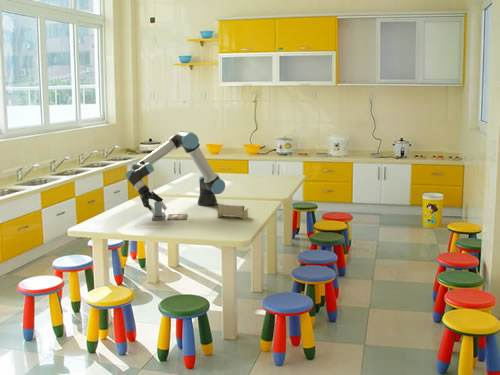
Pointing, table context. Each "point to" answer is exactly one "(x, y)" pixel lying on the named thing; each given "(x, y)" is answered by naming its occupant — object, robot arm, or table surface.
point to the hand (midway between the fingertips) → (160, 211)
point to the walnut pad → (177, 217)
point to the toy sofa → (232, 211)
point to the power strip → (158, 217)
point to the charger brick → (158, 209)
